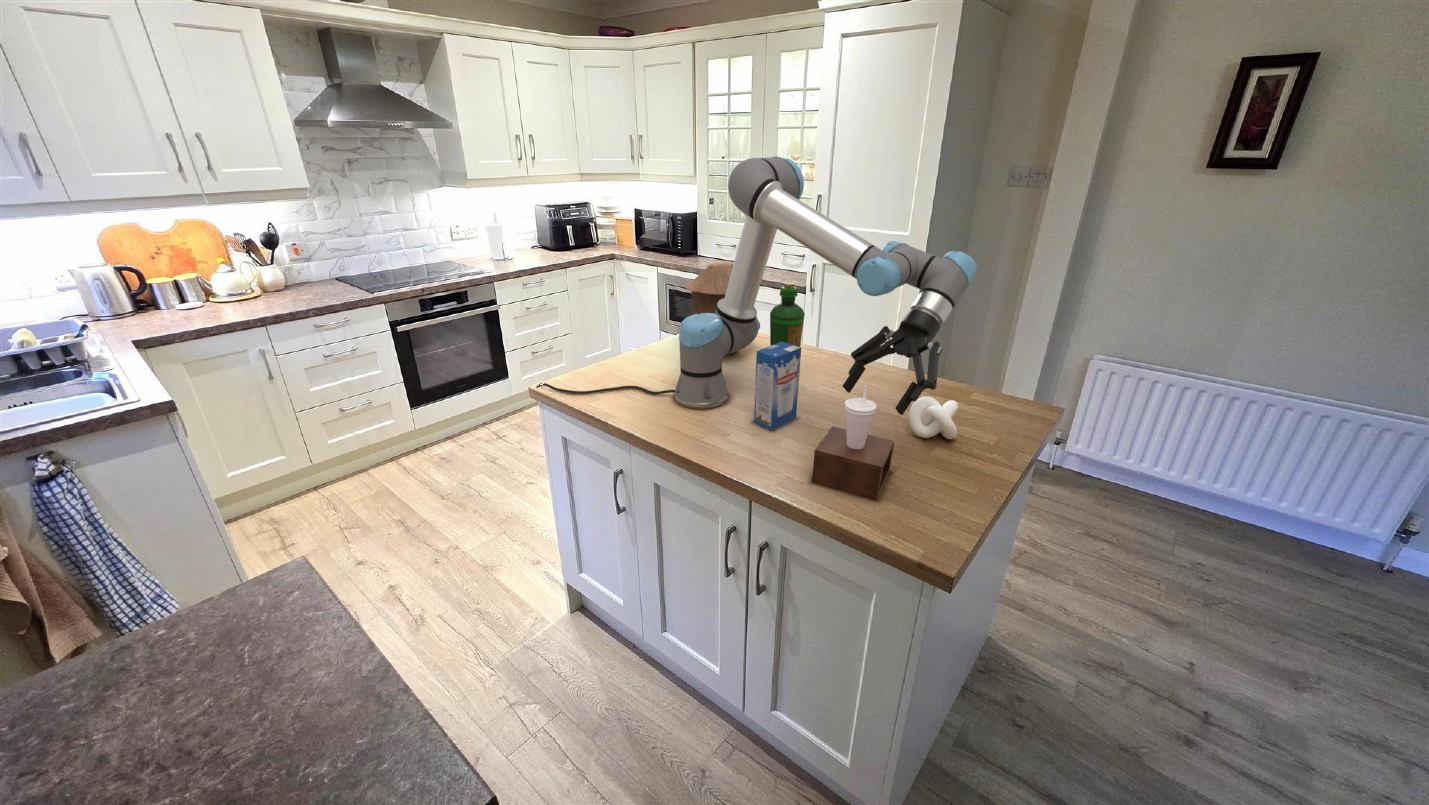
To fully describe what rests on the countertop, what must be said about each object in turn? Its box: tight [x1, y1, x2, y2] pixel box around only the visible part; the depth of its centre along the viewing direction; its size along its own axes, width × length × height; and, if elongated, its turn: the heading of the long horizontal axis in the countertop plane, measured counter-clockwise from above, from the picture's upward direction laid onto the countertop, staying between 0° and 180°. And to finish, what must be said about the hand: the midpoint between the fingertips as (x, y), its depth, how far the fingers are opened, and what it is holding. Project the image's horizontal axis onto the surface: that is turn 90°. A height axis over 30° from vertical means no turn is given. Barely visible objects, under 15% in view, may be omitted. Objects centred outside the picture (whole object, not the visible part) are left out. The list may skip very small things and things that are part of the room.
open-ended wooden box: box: [811, 425, 895, 501], centre depth 119 cm, size 14×12×8 cm
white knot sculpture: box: [908, 396, 959, 440], centre depth 137 cm, size 11×12×9 cm
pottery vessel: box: [685, 262, 761, 355], centre depth 186 cm, size 26×26×30 cm
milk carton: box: [753, 342, 802, 432], centre depth 140 cm, size 10×6×20 cm, turn 134°
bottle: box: [769, 281, 806, 347], centre depth 170 cm, size 11×11×28 cm
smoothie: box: [843, 384, 878, 449], centre depth 114 cm, size 6×6×14 cm
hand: (871, 400), depth 115 cm, fingers open, 13 cm apart
